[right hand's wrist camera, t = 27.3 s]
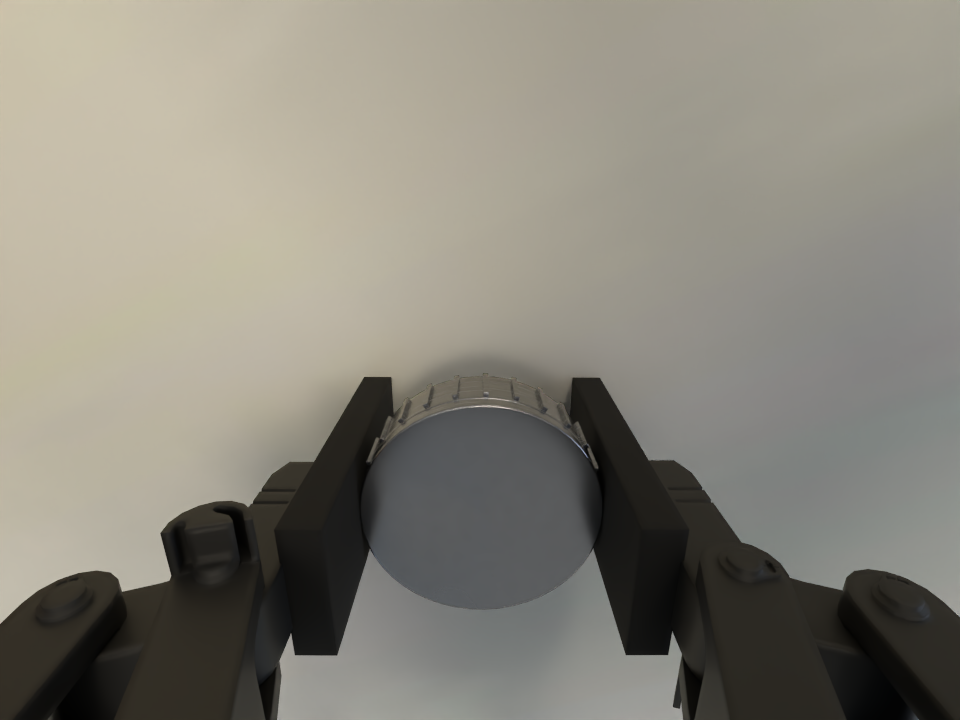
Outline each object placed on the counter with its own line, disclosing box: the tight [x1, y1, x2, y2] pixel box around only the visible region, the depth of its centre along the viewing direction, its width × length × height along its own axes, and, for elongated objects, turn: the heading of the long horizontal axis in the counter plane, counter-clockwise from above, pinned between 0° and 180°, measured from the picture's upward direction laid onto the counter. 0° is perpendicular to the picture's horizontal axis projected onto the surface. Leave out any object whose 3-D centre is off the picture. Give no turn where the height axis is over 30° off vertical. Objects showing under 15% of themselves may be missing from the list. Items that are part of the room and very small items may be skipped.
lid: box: [359, 373, 603, 610], centre depth 11 cm, size 5×5×2 cm
